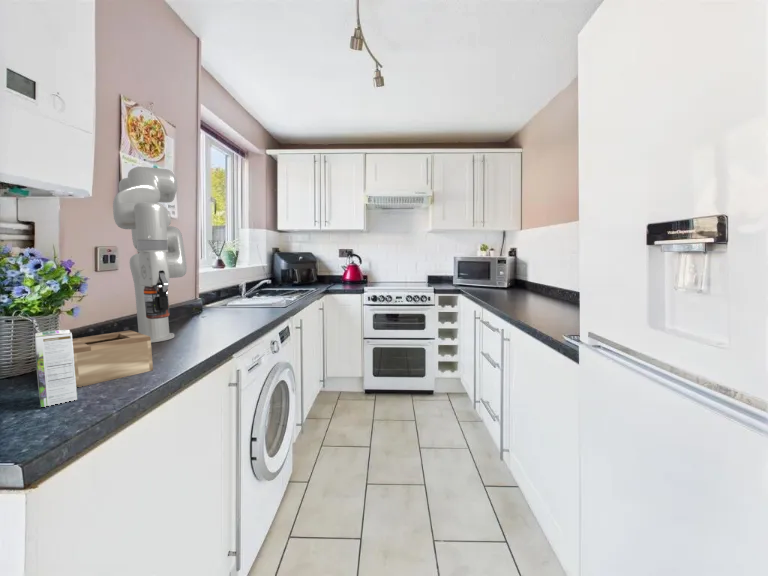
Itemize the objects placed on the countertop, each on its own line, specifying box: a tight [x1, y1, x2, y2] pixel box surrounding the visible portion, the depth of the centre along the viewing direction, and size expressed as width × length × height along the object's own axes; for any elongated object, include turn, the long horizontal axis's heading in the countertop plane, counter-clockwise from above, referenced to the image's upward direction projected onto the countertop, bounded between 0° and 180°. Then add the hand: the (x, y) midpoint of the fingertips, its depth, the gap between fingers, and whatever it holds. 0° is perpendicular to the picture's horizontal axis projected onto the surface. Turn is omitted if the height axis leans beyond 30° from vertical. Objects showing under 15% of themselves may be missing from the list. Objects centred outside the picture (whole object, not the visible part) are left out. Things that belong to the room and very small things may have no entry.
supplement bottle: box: [144, 284, 171, 319], centre depth 108 cm, size 6×6×11 cm
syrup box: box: [34, 329, 78, 408], centre depth 77 cm, size 6×6×14 cm
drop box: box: [72, 329, 154, 389], centre depth 95 cm, size 15×16×9 cm
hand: (157, 308), depth 108 cm, fingers closed on supplement bottle, 6 cm apart
